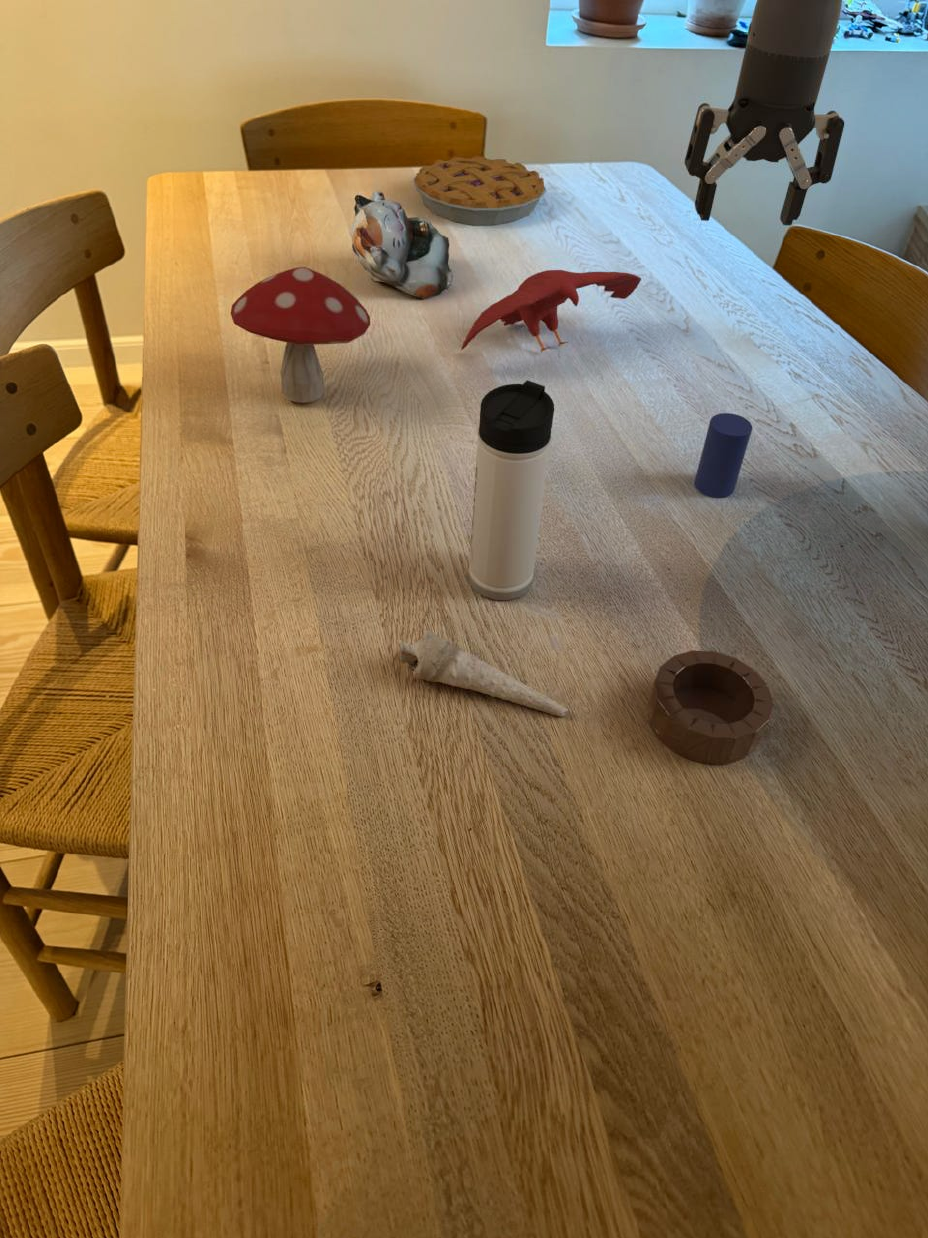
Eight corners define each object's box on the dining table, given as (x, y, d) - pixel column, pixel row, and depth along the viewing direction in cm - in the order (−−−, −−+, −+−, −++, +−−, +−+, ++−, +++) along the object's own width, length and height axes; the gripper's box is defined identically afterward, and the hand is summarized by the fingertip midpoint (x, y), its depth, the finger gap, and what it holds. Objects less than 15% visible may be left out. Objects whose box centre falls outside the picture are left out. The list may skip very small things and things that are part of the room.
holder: (748, 680, 85) (758, 652, 82) (772, 767, 78) (784, 740, 76) (641, 676, 85) (648, 648, 82) (655, 762, 78) (664, 735, 75)
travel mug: (545, 572, 94) (570, 392, 80) (513, 610, 90) (534, 428, 76) (489, 549, 96) (505, 370, 82) (456, 585, 92) (466, 404, 78)
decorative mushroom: (224, 373, 118) (207, 254, 108) (343, 349, 124) (338, 234, 114) (266, 439, 108) (252, 315, 98) (394, 410, 114) (393, 289, 104)
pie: (485, 171, 173) (487, 142, 170) (569, 210, 162) (573, 180, 158) (388, 195, 163) (388, 165, 159) (470, 239, 151) (472, 207, 148)
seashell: (402, 651, 86) (408, 611, 83) (570, 705, 83) (581, 665, 81) (385, 677, 82) (391, 636, 80) (560, 734, 80) (571, 694, 77)
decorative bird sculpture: (445, 395, 125) (498, 351, 112) (417, 329, 125) (467, 277, 111) (605, 341, 138) (670, 295, 125) (579, 281, 137) (642, 229, 124)
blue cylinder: (729, 475, 108) (747, 413, 102) (737, 498, 104) (756, 436, 99) (691, 473, 107) (706, 411, 102) (697, 497, 104) (714, 434, 99)
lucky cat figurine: (452, 304, 134) (411, 225, 123) (376, 326, 139) (329, 252, 127) (457, 232, 142) (418, 152, 131) (384, 255, 146) (341, 179, 135)
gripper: (719, 47, 84) (681, 231, 96) (878, 56, 85) (822, 238, 96) (705, 26, 90) (670, 202, 101) (854, 35, 90) (803, 210, 101)
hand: (744, 220), depth 98 cm, fingers open, 8 cm apart
